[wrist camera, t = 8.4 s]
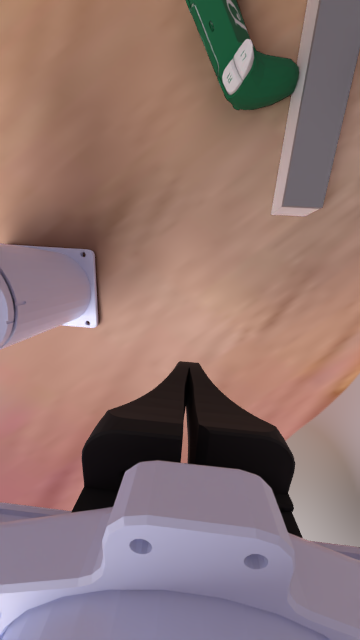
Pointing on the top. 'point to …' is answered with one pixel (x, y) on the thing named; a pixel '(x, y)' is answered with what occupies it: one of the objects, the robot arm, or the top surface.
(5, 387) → the top surface
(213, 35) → the gaming controller
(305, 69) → the bar
